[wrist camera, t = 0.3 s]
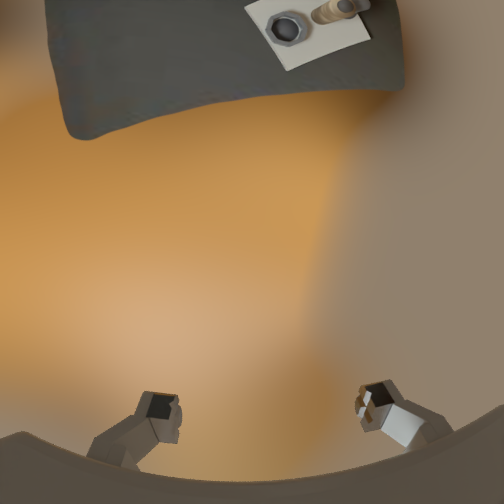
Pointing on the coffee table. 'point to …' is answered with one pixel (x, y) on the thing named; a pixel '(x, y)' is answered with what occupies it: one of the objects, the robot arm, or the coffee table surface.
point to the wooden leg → (333, 11)
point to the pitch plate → (314, 32)
